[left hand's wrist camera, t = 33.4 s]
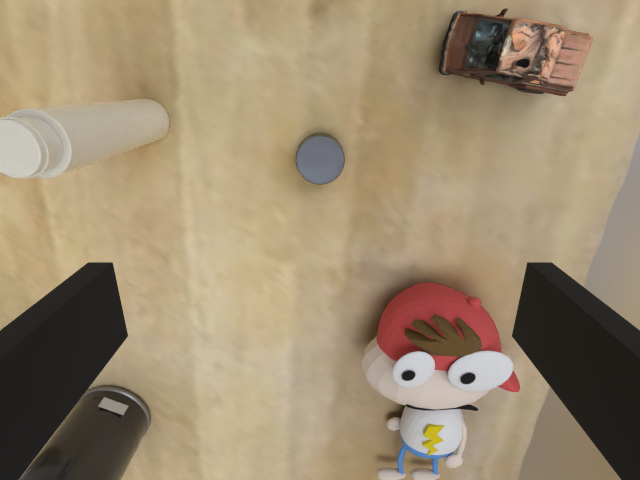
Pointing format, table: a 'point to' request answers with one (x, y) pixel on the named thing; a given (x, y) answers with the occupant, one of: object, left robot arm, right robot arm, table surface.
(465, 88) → the table surface
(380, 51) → the table surface
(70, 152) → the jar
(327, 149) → the lid
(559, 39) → the toy car
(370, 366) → the toy
